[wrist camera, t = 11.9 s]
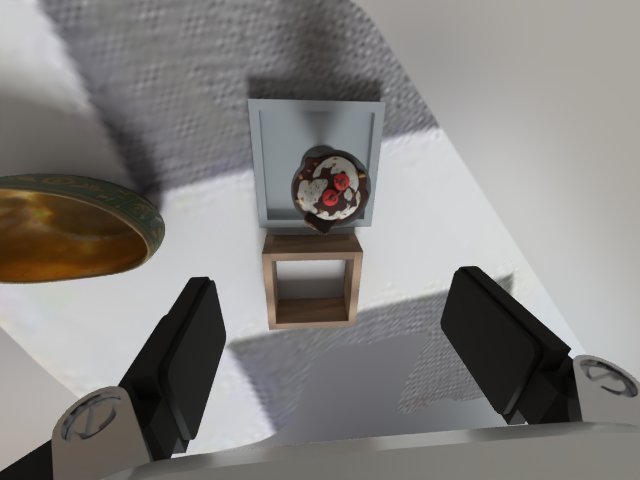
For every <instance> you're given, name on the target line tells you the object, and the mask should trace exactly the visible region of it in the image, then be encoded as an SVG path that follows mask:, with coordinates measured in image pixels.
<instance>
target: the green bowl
mask: <svg viewBox="0 0 640 480" xmlns="http://www.w3.org/2000/svg"><path fill="white" fill-rule="evenodd" d="M164 235H165V224H164V221H163V218H162V216H161V215H160V213H159V212H158V211H157V209H156V207H155V206H154V205H153V204H152V203H151V202H150V201H149V200H148V199H146V198H145V197H143V196H141V195H140V194H138V193H136V192H134V191H132V190H129V189H127V188H124V187H121V186H119V185H116V184H113V183H109V182H106V181H102V180H99V179H94V178H88V177H82V176H73V175H59V174H27V175H16V176H6V177H0V283H3V284H33V283H47V282H57V281H67V280H75V279H84V278H92V277H99V276H107V275H113V274H118V273H123V272H126V271H130V270H133V269H135V268H138V267H139V266H141V265H143V264H144V263H145V262H146V261H148V260H149V259H150V258H151V257H152V256H153V255H154V253H155V252H156V251H157V249H158V248H159V247H160V245H161V243H162V241H163V238H164Z"/></svg>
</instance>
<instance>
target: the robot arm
mask: <svg viewBox="0 0 640 480" xmlns="http://www.w3.org/2000/svg"><path fill="white" fill-rule="evenodd" d="M441 328H442V330H443V332H444V333H445V335H446V336H447V338H448V340H449V341H450V343H451V344H452V346H453V347H454V349H455V350H456V352H457V353H458V355H459V356H460V358H461V359H462V361H463V363H464V364H465V366H466V367H467V369H468V370H469V372H470V373H471V375H472V376H473V378H474V379H475V381H476V382H477V384H478V386H479V387H480V389H481V390H482V392H483V393H484V395H485V396H486V398H487V399H488V401H489V402H490V404H491V405H492V407H493V408H494V410H495V411H496V412H497V413H498V414H501V415H502V417H503V418H504V419H505V421H506V423H507V424H508V425H517V424H524V423H525V422H526V421H527V423H528V424H529V425H519V426H506V427H495V428H494V427H493V428H481V429H469V430H457V431H445V432H432V433H420V434H408V435H396V436H385V437H374V438H363V439H351V440H339V441H328V442H318V443H306V444H295V445H284V446H273V447H262V448H251V449H242V450H234V451H224V452H215V453H206V454H197V455H189V456H183V457H177V458H171V456H172V454H177V453H186V450H187V447H188V444H189V441H190V440H194V439H195V437H196V435H197V433H198V429H199V426H200V423H201V420H202V416H203V413H204V410H205V407H206V403H207V400H208V397H209V394H210V391H211V387H212V384H213V381H214V378H215V374H216V371H217V368H218V365H219V361H220V358H221V355H222V352H223V349H224V345H225V342H226V331H225V326H224V322H223V317H222V313H221V308H220V303H219V299H218V294H217V290H216V285H215V282H214V281H213V280H210V279H209V277H192V278H190V279H189V281H188V283H187V284H186V286H185V287H184V289H183V291H182V292H181V294H180V295H179V297H178V298H177V300H176V302H175V303H174V305H173V306H172V308H171V309H170V311H169V313H168V314H167V315H165V316H163V317H162V319H161V320H160V321H159V323H158V324H157V326H156V328H155V329H154V331H153V332H152V334H151V335H150V337H149V338H148V340H147V341H146V343H145V344H144V346H143V348H142V349H141V351H140V352H139V354H138V355H137V357H136V358H135V360H134V361H133V363H132V364H131V366H130V368H129V369H128V371H127V372H126V374H125V375H124V377H123V378H122V380H121V381H120V383H119V384H118V386H109V387H105V388H101V389H98V390H96V391H94V392H91V393H89V394H87V395H86V396H84V397H83V398H81V399H80V400H78V401H77V402H76V403H74V404H73V405H72V406H71V407H70V408H69V409H68V410H66V412H65V413H64V414H63V415H62V416H61V418H60V419H59V420H58V422H57V424H56V426H55V427H54V429H53V433H52V439H51V440H49V441H48V442H46V443H45V444H43V445H42V446H40V447H38V448H37V449H35V450H33V451H32V452H30V453H29V454H27V455H26V456H24V457H22V458H21V459H19V460H18V461H16V462H15V463H13V464H11V465H10V466H8V467H7V468H5V469H4V470H2V471H1V472H0V480H640V383H639V382H638V381H637V380H636V379H635V378H634V377H633V376H632V375H630V374H629V373H628V372H626V371H625V370H623V369H622V368H620V367H618V366H617V365H615V364H613V363H611V362H609V361H606V360H604V359H601V358H598V357H595V356H590V355H579V356H576V357H575V358H574V359H572V358H571V357H569V356H568V353H569V352H570V350H571V348H570V347H569V346H568V345H567V344H565V343H564V342H563V341H562V340H561V339H560V338H559V337H558V336H556V335H555V334H554V333H553V332H552V331H551V330H550V329H548V328H547V327H546V326H545V325H544V324H543V323H542V322H540V321H539V320H538V319H537V318H536V317H535V316H534V315H532V314H531V313H530V312H529V311H528V310H527V309H526V308H524V307H523V306H522V305H521V304H520V303H519V302H518V301H516V300H515V299H514V298H513V297H512V296H511V295H510V294H508V293H507V292H506V291H505V290H504V289H503V288H502V287H501V286H499V285H498V284H497V283H496V282H495V281H494V280H493V279H491V278H490V277H489V276H488V275H487V274H486V273H485V272H483V271H482V270H481V269H480V268H479V267H477V266H465V267H460V268H459V269H458V270H457V271H455V273H454V276H453V280H452V283H451V287H450V290H449V294H448V297H447V301H446V304H445V308H444V311H443V315H442V318H441Z"/></svg>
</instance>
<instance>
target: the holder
mask: <svg viewBox="0 0 640 480" xmlns="http://www.w3.org/2000/svg"><path fill="white" fill-rule="evenodd" d="M262 259H263V270H264V280H265V291H266V302H267V313H268V323H269V330H275V329H299V328H322V327H345V326H355V323H356V314H357V304H358V295H359V286H360V277H361V268H362V259H363V250H362V248H361V246H360V244H359V242H358V239H357V237H356V235H355V234H327V235H267V236H266V240H265V244H264V248H263V252H262ZM345 259H346V265H345V279H344V292H343V298H320V299H291V300H278V285H277V270H276V261H301V260H345Z"/></svg>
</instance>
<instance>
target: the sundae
mask: <svg viewBox="0 0 640 480" xmlns="http://www.w3.org/2000/svg"><path fill="white" fill-rule="evenodd" d="M370 194H371V181H370V177H369V174H368V172H367V170H366V168H365V167H364V165H363V164H362V163H361V162H360V161H359V160H358V159H357V158H356V157H355V156H353V155H352V154H350V153H348V152H346V151H342V150H334V149H332V148H331V147H328V146H316V147H313V148H311V149H310V150H308V151H307V152H306V154H305V155H304V156H303V158H302V161H301V166H300V167H299V168H298V169H297V171H296V172H295V174H294V176H293V179H292V183H291V196H292V200H293V204H294V207H295V208H296V210H297V212H298V213H299V215H300V216H301V217H302V218H303V219H304V222H305V223H306V224H308V225H309V226H310V227H311V228H313V229H314V230H316V231H318V232H319V233H321V234H322V235H327V234H328V232H329V231H330V230H331V228H340V227H344V226H346V225H348V224H350V223H352V222H353V221H355V220H356V219H357V218H358V217H359V216H360V215H361V214H362V212H363V211H364V209H365V207H366V205H367V203H368V200H369V198H370Z"/></svg>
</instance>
